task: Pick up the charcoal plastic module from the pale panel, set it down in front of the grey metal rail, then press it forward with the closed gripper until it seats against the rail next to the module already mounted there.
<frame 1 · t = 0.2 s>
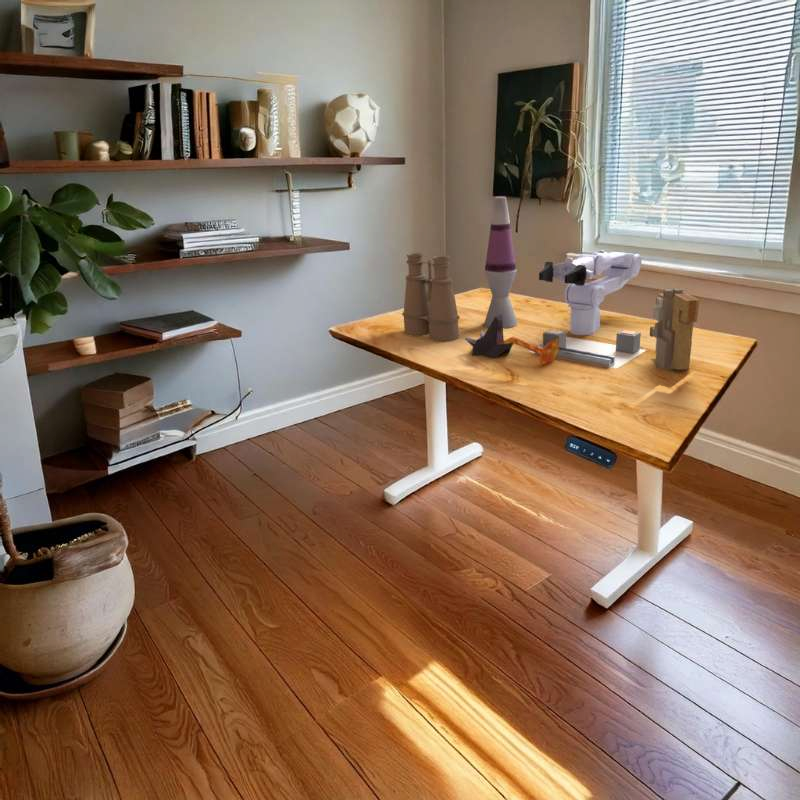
hand: (552, 277, 186), 21 cm above the table, tool horizontal, fingers open, 7 cm apart
module: (627, 350, 188), point 1 cm above the table, touching panel
lamp: (500, 324, 224), on the table
toy: (670, 369, 176), on the table
mounted module: (554, 349, 192), point 1 cm above the table, touching panel
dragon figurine: (510, 361, 189), on the table
binoculars: (431, 335, 217), on the table
rail: (573, 358, 184), resting on panel
panel: (586, 355, 190), on the table
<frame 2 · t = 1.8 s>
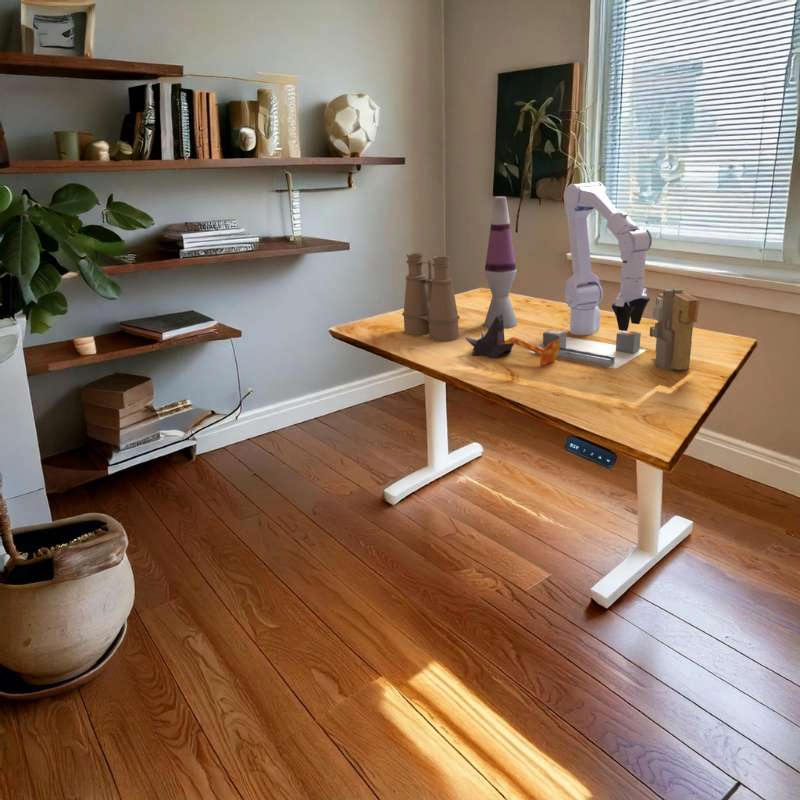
hand: (629, 326, 185), 8 cm above the table, tool pointing down, fingers open, 7 cm apart
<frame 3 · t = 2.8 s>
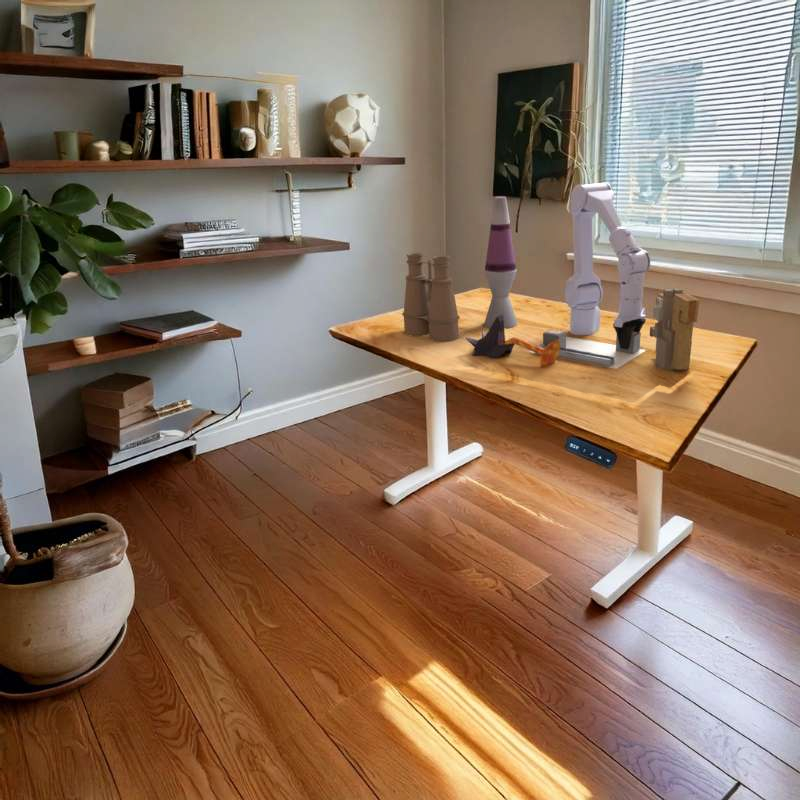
hand: (627, 346, 187), 2 cm above the table, tool pointing down, fingers closed on module, 4 cm apart
module: (627, 350, 188), point 1 cm above the table, touching gripper, panel
everything else where it was.
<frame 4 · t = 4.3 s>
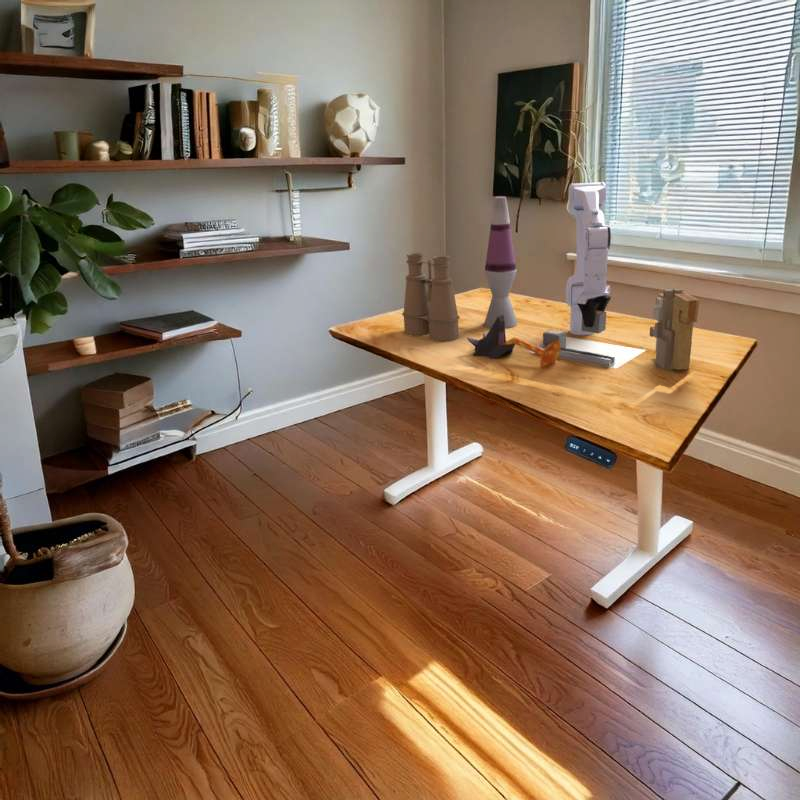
hand: (592, 324, 184), 9 cm above the table, tool pointing down, fingers closed on module, 4 cm apart
module: (593, 330, 185), point 8 cm above the table, touching gripper
when the fingers open (4 cm above the table, at t = 5.7 s): module drops 1 cm, resting on panel.
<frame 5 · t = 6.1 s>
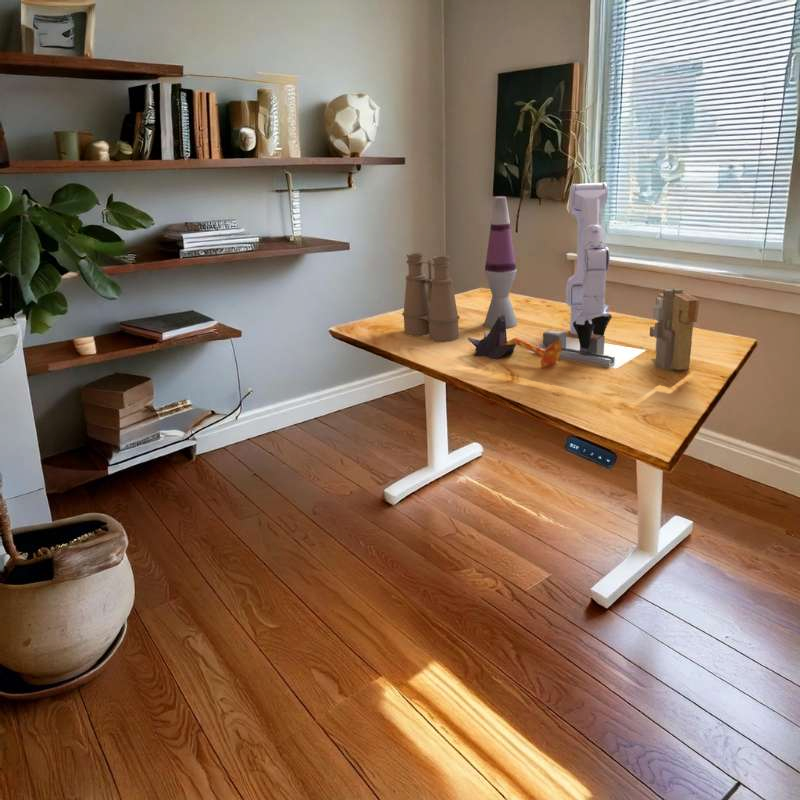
hand: (591, 344, 186), 4 cm above the table, tool pointing down, fingers open, 7 cm apart
module: (591, 353, 187), point 1 cm above the table, touching panel
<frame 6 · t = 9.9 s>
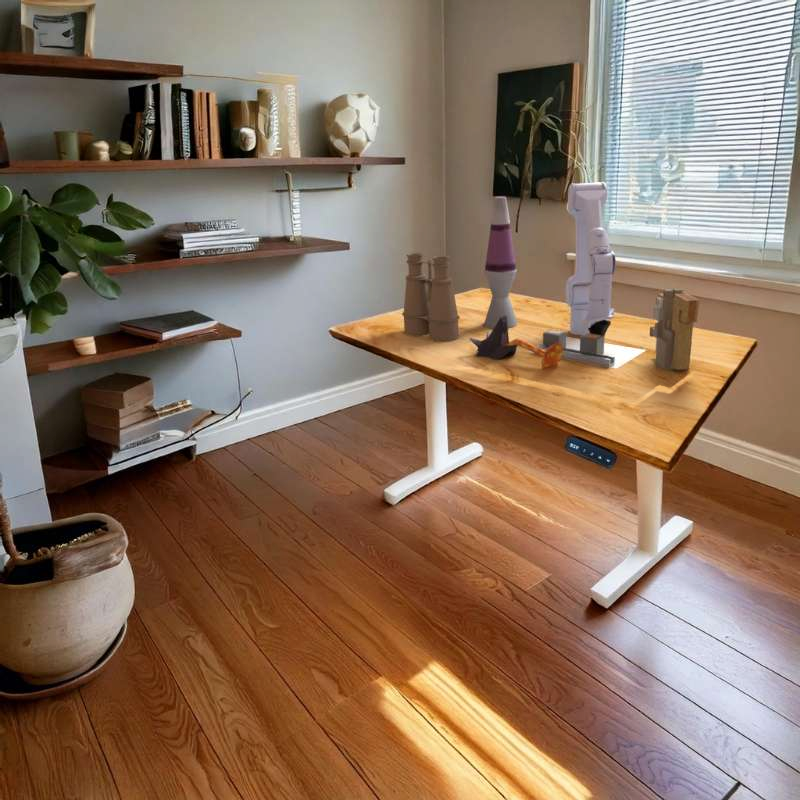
hand: (597, 346, 189), 2 cm above the table, tool pointing down, fingers closed, pressing on module
module: (591, 353, 187), point 1 cm above the table, touching gripper, panel
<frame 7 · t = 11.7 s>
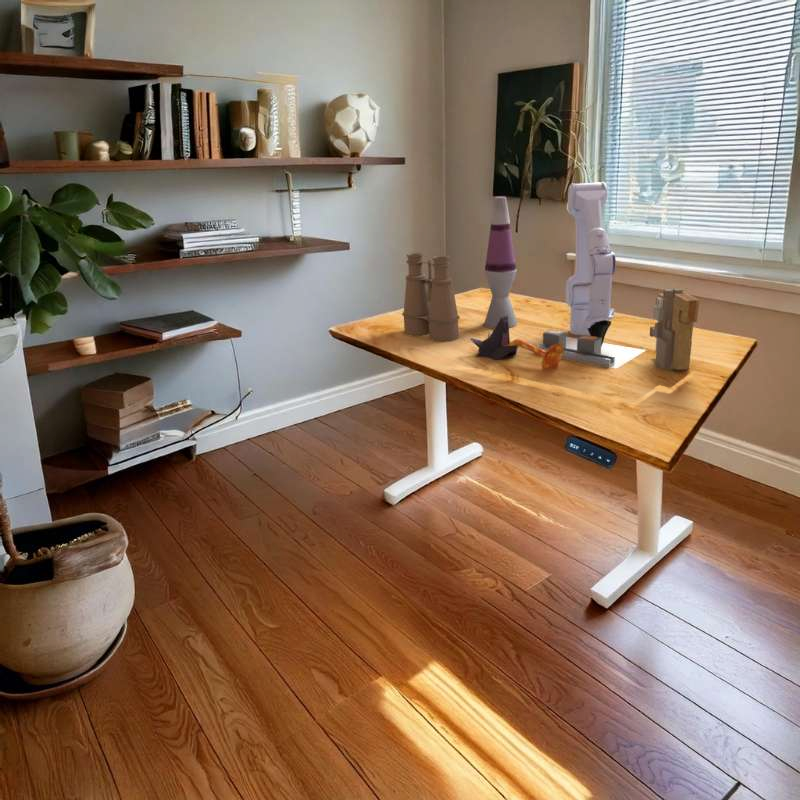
hand: (597, 346, 189), 2 cm above the table, tool pointing down, fingers closed
module: (588, 355, 186), point 1 cm above the table, touching panel
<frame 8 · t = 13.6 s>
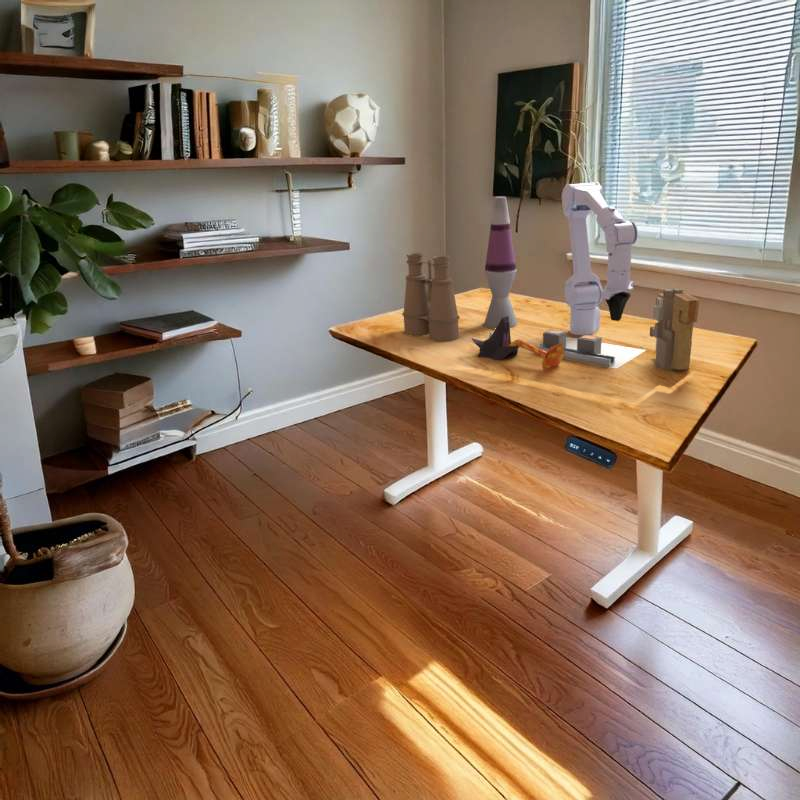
hand: (615, 320, 185), 10 cm above the table, tool pointing down, fingers closed
at the end: module 0.5 cm from the target spot on the table beside the rail, resting on panel; module tilted 0°; the gripper is holding nothing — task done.
